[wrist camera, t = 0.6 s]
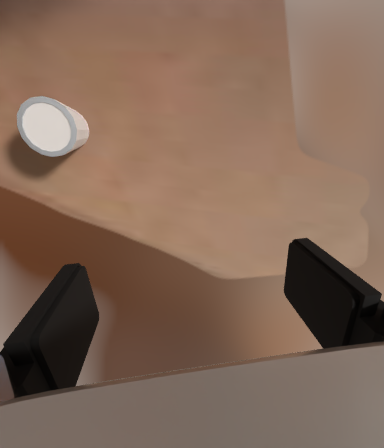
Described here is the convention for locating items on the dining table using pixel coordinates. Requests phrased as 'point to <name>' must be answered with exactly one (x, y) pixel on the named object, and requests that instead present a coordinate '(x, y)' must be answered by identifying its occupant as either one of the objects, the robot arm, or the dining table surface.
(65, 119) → the shot glass
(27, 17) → the dining table surface
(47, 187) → the dining table surface
